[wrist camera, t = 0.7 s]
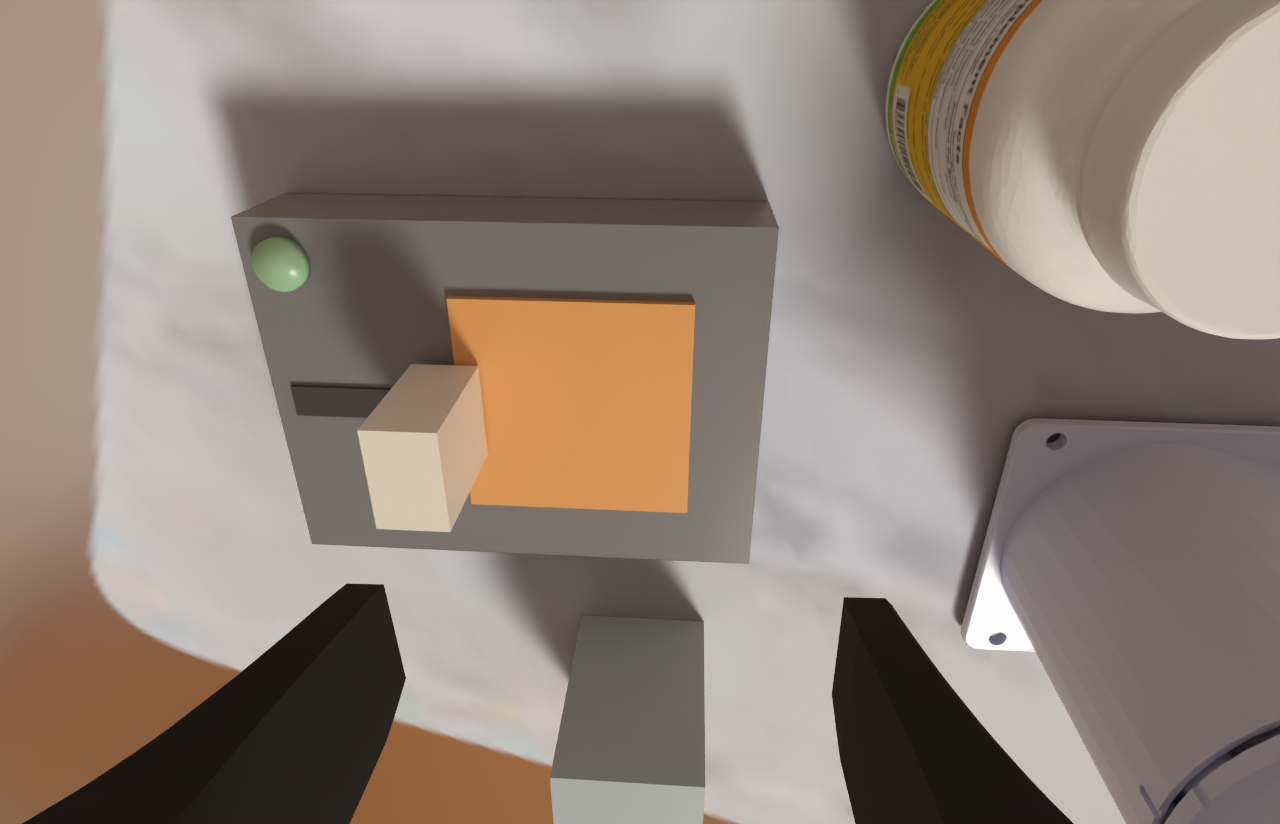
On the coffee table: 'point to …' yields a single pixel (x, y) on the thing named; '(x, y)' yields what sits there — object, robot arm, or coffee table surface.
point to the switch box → (528, 360)
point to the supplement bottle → (1105, 148)
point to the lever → (424, 447)
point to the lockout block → (632, 725)
